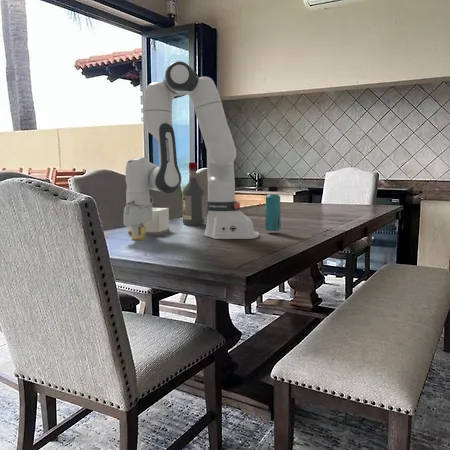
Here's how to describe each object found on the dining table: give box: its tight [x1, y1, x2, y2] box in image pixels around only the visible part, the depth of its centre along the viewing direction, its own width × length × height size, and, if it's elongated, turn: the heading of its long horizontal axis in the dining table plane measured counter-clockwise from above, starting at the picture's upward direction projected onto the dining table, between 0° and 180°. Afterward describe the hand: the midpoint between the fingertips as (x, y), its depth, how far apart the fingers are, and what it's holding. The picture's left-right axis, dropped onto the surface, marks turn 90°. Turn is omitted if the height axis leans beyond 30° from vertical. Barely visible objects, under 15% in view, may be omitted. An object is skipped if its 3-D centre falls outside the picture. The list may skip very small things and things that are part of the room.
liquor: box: [181, 162, 205, 227], centre depth 217 cm, size 9×9×30 cm
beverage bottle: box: [264, 185, 282, 232], centre depth 188 cm, size 6×7×20 cm
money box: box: [127, 207, 170, 236], centre depth 194 cm, size 14×12×10 cm
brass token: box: [131, 226, 147, 241], centre depth 176 cm, size 5×2×5 cm, turn 77°
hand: (138, 234), depth 176 cm, fingers closed on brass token, 2 cm apart
